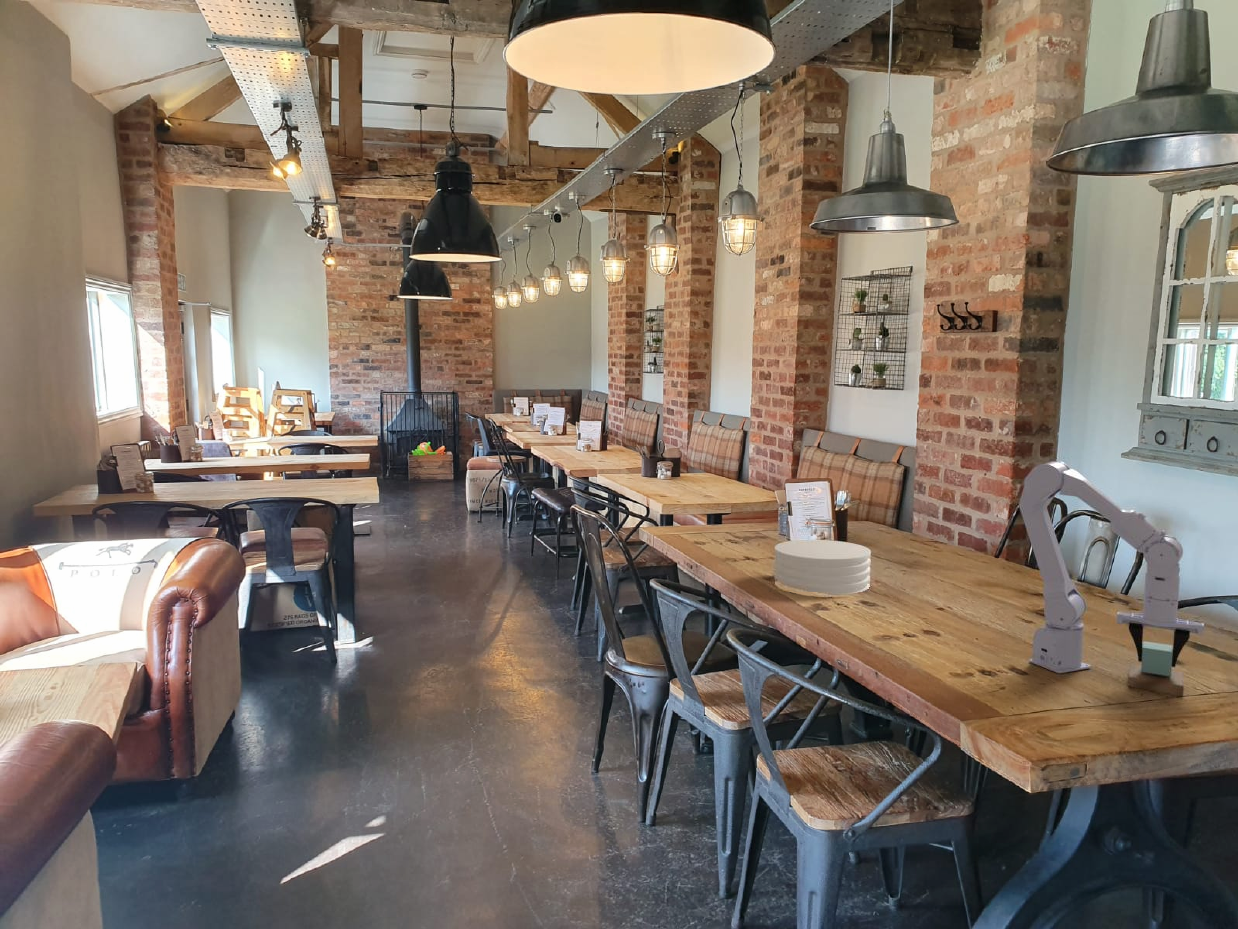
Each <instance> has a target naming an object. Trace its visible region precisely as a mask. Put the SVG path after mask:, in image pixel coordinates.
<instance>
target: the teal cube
mask: <svg viewBox="0 0 1238 929" xmlns="http://www.w3.org/2000/svg"><path fill="white" fill-rule="evenodd" d="M1142 649H1143V650H1142V662H1141V672H1146V673H1152V674H1159V675H1165V676H1171V670H1172V668H1173V667H1172V655H1173V644H1172V645H1171V644H1165V643H1157V642H1152V641H1151V642H1150V641H1145V640H1142Z"/></svg>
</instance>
